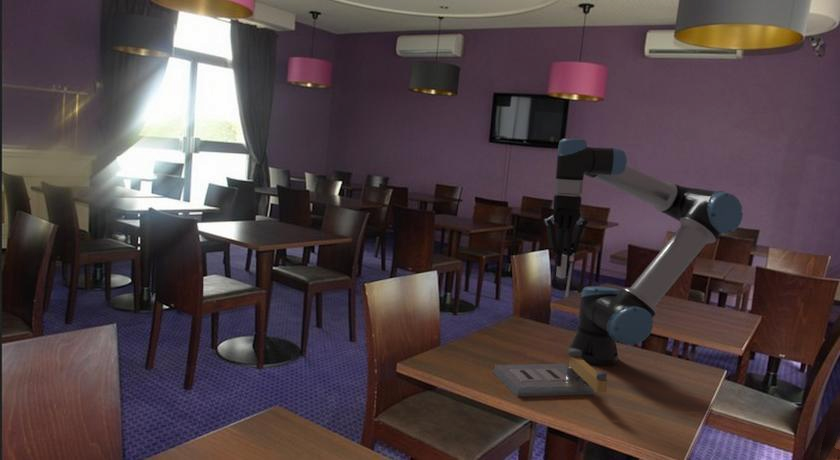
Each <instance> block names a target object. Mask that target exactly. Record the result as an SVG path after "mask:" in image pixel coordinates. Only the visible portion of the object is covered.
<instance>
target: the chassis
mask: <svg viewBox="0 0 840 460" xmlns="http://www.w3.org/2000/svg"><path fill="white" fill-rule="evenodd" d="M493 374H494V375H495V376H496V378H498V379H499V380H500V381H501V382H502V383H503V384H504V385H505V386H506V387H507V388H508V390H510V391H511V392H512V393H513V394H514V395H515V396H516V397H517V398H518V397H519V398H521V397H522V398H523V397H554V396H557V397H559V396H562V397H563V396H587V395H588V396H590V395H593V393H594V389H593V388H592V387H591V386H590V385H589V384H588V383H586V382H585V381H584V380H583V379H582V378H581V377H580V376H579V375H578V374H577V373H576V372H575V371H574V370H573V369H572V368H571V367H570V366H569V365H566V364H565V363H540V364H538V363H535V364H524V363H523V364H494V369H493Z"/></svg>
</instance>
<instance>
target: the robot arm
mask: <svg viewBox="0 0 840 460" xmlns="http://www.w3.org/2000/svg"><path fill="white" fill-rule="evenodd" d="M587 142H588V141H587V140H586V139H581V138H579V139H577V138H562V139H560V140H559V142H558V147H557V152H556V153H557V154H556V159H557V160H556V171H555V184H554V193H555V194H554V195H553V203H552V204H553V205H552V209H553V210H552V212H551V216H549V217H548V218H546V217H545V218H543V223H544V225H545V229H546V235H547V236H546V237H547V241H548V242H547V243H548V244H547V245H548V249H549V250H548V251H549V252H551V253H553V254H554V255H555V256H554V266H556V273H555V277H557V278H559V279H566V276H567V275H566V274H567V267H569V265H570V258H571V256H573V254H576V253H577V251H578V248H579V245H580V242H581V239H582V235H583V232H584V229H585V227H586V226H587V224H588V220H586V219H584V218H583V217H582V215H581V212H580V210H581V209H582V196H581V195H582V194H583V188H584V187H583V185H584V176H587V177H588V178H592V179H594V180H596V181H598V182H601V183H603V184H605V185H608V186H610V187H612V188H615V189H617V190H618V191H621V192H624V193H626V194H628V195H631V196H632V197H634V198H637V199H639V200H642V201H644V202H646V203H649V204H651V205H652V206H654V207H655V209H656V211H658V212H661V213H662V214H664V215H666V216H669V217H670V218H673V219H674V220H677V221H679V223H680V226H679V228H678V230H676V232H675V233H674V234H673V235H672V237H671V238H670V239H669V240H668V241H667V242H666V244H665V245H664V246H663V247H662V249H661V250H660V251H659V252H658V254H657V255H656V256H655V257H654V258H653V259H652V261H651V262H650V263H649V264H648V266H647V267H646V268H645V269H644V271H643V272H642V273H641V274H640V275H639V276H638V277H637V279H636V280H635V281H634V283H632V285H631V286H630V287H623V288H622V289H621V290H620V289H618V288H613V287H607V286H605V287H604V286H585V287H583V289H582V291H581V295H580V305H579V311H578V313H579V314H578V320H577V328H576V333H575V334H574V336H573V338H572V340H571V343H570V345H569V348H568V349H570V348H575V349H579V350H581V351H582V354H581V358H582V359H583V360H584V361H585V362H586V363H588V364H589V365H593V366H601V367H604V366H606V367H607V366H614V365H616V364H618V359H619V353H618V349H617V344H616V342H619V343H621V344H624V345H628V346H630V345H638V344H639V343H642V342H643V341H645V340H646V339H647V338H648V337H649V336H650V335H651V333H652V331H653V328H654V326H653V324H654V317H655V315H656V314H657V310H656V305H657V304H658V303H659V302H660V301H661V300H662V298H663V297H665V294H666V293H668V291H669V290H670V288H671V287H672V286H673V285H674V284H675V282H676V281H677V280H678V279H679V278H680V276H681V275H682V274H683V273H684V271H685V270H686V269H687V267H689V266H690V264H691V263H692V262H693V261H694V259H695V258H696V257H697V256H698V254H700V252H701V251H702V249H704V247H705V246H706V245H707V244H713V243H716V241H717V240H718V239H719V238H720V237H721V235H722V234H730V233H733V232H734V231H736V230H737V229H738V227H740V225H741V223H742V220H743V205H742V203H741V201H740V200H739V198H738V197H737V196H735V195H734V194H732V193H729V192H725V191H723V190H709V189H701V188H695V187H694V188H693V187H687V186H683V185H682V186H681V185H679V184H677V183H674V182H663V181H661V180H659V179H658V178H655V177H652V176H650V175H648V174H646V173H643V172H641V171H639V170H638V169H635V168H632V167H630V166H628V165H627V161H628V160H627V159H628V158H627V155H626V152H625V151H624V150H623V149H621V148H614V147H590V146H588V145H587Z"/></svg>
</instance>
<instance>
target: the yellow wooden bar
mask: <svg viewBox="0 0 840 460" xmlns="http://www.w3.org/2000/svg"><path fill="white" fill-rule="evenodd" d="M581 354H582V351H581V350H579V349H575V348H570V349H569V348H568V350H567V356H569V361H568V362H569V363H568V366H570V367H571V368H572V369H573V370H574V371H575V372H576V373H577V374H578V375H579V376H580V377H581V378H582V379H583V380H584V381H585V382H586V383H588V384H589V385H590V386H591V387H592V388H593V391H595V392H596V393H607V388H608V380H607V376H608V373H607V372H605V371H597V370H595V369H594V368H593V367H592V366H591V364H588V363H586V362H585V361H584V360H583V359H582V358H581Z"/></svg>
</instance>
